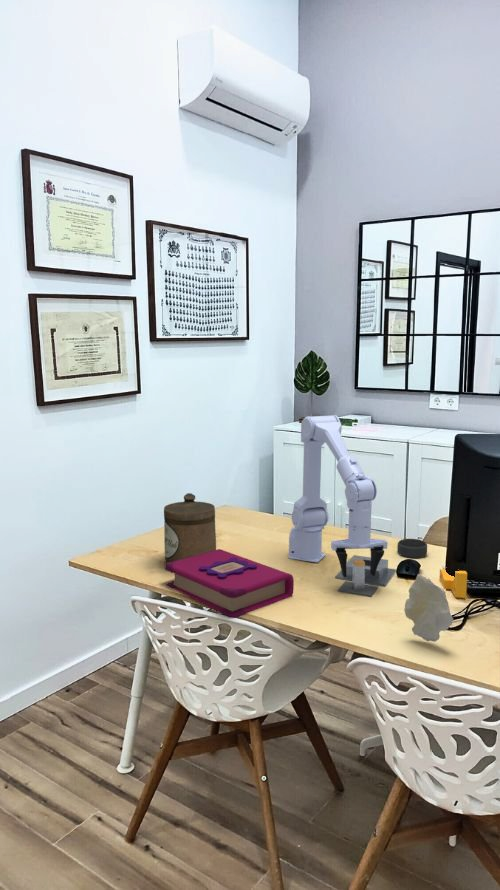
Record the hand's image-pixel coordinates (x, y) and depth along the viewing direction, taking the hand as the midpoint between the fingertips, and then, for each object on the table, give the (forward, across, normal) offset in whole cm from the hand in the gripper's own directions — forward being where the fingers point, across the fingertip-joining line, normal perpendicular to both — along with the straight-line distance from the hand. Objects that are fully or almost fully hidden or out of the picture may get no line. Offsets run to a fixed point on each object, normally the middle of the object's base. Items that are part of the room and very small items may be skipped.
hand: (358, 575), depth 171 cm
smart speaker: (+4, +24, +27) cm, 36 cm away
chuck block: (+4, +5, +10) cm, 12 cm away
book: (+5, -34, +1) cm, 35 cm away
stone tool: (+4, +8, -30) cm, 32 cm away
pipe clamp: (+4, +25, -1) cm, 26 cm away
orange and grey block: (+4, 0, 0) cm, 4 cm away
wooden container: (+4, -44, +21) cm, 49 cm away
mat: (+4, 0, 0) cm, 4 cm away
